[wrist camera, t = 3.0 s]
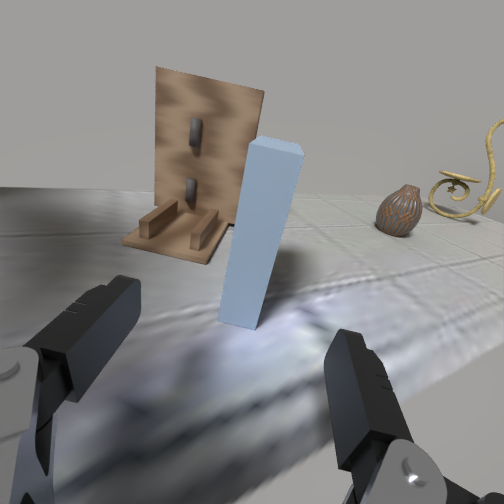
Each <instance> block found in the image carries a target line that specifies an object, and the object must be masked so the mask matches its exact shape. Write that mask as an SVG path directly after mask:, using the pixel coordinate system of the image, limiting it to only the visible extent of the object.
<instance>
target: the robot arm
mask: <svg viewBox="0 0 504 504" xmlns="http://www.w3.org/2000/svg"><path fill="white" fill-rule="evenodd" d="M140 313H141V283H140V280H138V279H135V278H130V277H126V276H122V275H118V276H116V277H115V278H114V279H113V280H112V281H111V282H110V283H109V284H108V285H107V286H106V285H99V286H97V287H95V288H93V289H91V290H89V291H87V292H85V293H84V294H83V295H82V296H81V297H80V298H78V299H77V300H76V301H75V303H73V304H71V305H70V306H69V307H68V308H67V309H66V311H63V312H62V313H61V314H60V315H59V316H57V317H56V318H55V319H54V320H53V321H52V322H50V323H49V324H48V325H47V326H46V327H45V328H44V329H42V330H41V331H40V332H39V333H38V334H37V335H35V336H34V337H33V338H32V339H31V340H30V341H28V342H27V343H26V344H25V345H23V346H22V347H12V348H7V349H3V350H1V351H0V504H55V500H54V491H53V464H54V448H55V431H56V410H57V409H58V408H59V406H60V405H61V404H62V402H63V401H64V400H67V401H71V402H75V403H78V402H79V400H80V399H81V398H82V396H83V395H84V394H85V392H86V391H87V389H88V388H89V387H90V385H91V384H92V383H93V381H94V380H95V379H96V377H97V376H98V375H99V373H100V372H101V370H102V369H103V368H104V366H105V365H106V364H107V362H108V361H109V360H110V358H111V357H112V356H113V354H114V353H115V351H116V350H117V349H118V347H119V346H120V345H121V343H122V342H123V341H124V339H125V338H126V337H127V335H128V334H129V333H130V331H131V330H132V328H133V327H134V326H135V324H136V323H137V321H138V319H139V316H140ZM324 374H325V381H326V388H327V395H328V402H329V409H330V415H331V422H332V429H333V436H334V443H335V449H336V456H337V462H338V469H340V470H345V471H348V472H351V474H352V479H353V484H352V485H351V487H350V489H349V491H348V493H347V495H346V497H345V499H344V501H343V503H342V504H504V495H503V494H500V493H495V492H492V493H489V494H487V495H485V496H484V497H482V498H479V497H477V496H476V495H474V494H472V493H470V492H469V491H467V490H465V489H464V488H462V487H460V486H459V485H457V484H455V483H454V482H452V481H450V480H449V479H447V478H445V477H444V476H443V475H442V473H441V472H440V470H439V468H438V467H437V465H436V464H435V462H434V461H433V460H432V459H431V457H430V456H429V455H428V454H427V453H426V452H425V451H424V450H423V449H421V448H420V447H419V446H417V445H416V444H414V441H413V439H412V437H411V434H410V431H409V429H408V426H407V424H406V421H405V419H404V416H403V414H402V411H401V409H400V406H399V403H398V401H397V398H396V396H395V393H394V392H393V388H392V386H391V383H390V380H388V375H387V373H386V370H385V368H384V365H383V363H382V362H381V360H380V359H379V358H378V357H377V355H376V354H375V353H374V351H373V350H369V349H367V347H366V344H365V342H364V339H363V336H362V334H361V333H357V332H353V331H349V330H345V329H339V330H338V332H337V333H336V335H335V337H334V339H333V341H332V343H331V345H330V347H329V349H328V351H327V353H326V356H325V360H324Z"/></svg>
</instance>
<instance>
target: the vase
mask: <svg viewBox="0 0 504 504" xmlns="http://www.w3.org/2000/svg"><path fill="white" fill-rule="evenodd" d="M421 214H422V203H421V199H420V189H419V188H417V187H415V186H412V185H407V184H406V185H404V186H403V187H402V188H401V189H400V190H398V191H396V192H394V193H393V194H391V195H389V196H388V197H387V198H386V199H385V200H384V201H383V202H382V203H381V205H380V207H379V209H378V211H377V215H376V223H377V226H378V228H379V230H381V231H382V232H384V233H386V234H389V235H392V236H402V235H405V234H407V233H409V232H410V231H411V230H412V229H413V228H414V227H415V226H416V225H417V223H418V222H419V220H420V217H421Z"/></svg>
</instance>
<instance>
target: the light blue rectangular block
mask: <svg viewBox="0 0 504 504" xmlns="http://www.w3.org/2000/svg"><path fill="white" fill-rule="evenodd" d="M303 159H304V154H303V152H302V150H301V148H300V146H299V144H295V143H291V142H287V141H282V140H277V139H273V138H269V137H265V136H260V137H258V138H256V139H255V140H253V141H252V142H250V143H249V147H248V153H247V158H246V164H245V170H244V175H243V181H242V186H241V192H240V198H239V203H238V209H237V215H236V220H235V226H234V231H233V237H232V243H231V248H230V254H229V259H228V265H227V271H226V276H225V282H224V287H223V293H222V299H221V304H220V310H219V315H218V321H219V322H223V323H227V324H231V325H236V326H240V327H244V328H248V329H252V330H255V329H256V325H257V322H258V318H259V315H260V311H261V308H262V304H263V301H264V297H265V294H266V290H267V286H268V283H269V279H270V276H271V272H272V269H273V265H274V262H275V258H276V255H277V251H278V248H279V244H280V241H281V237H282V234H283V230H284V226H285V223H286V219H287V216H288V212H289V209H290V205H291V202H292V198H293V195H294V191H295V188H296V184H297V180H298V177H299V174H300V170H301V166H302V163H303Z"/></svg>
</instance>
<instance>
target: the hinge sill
mask: <svg viewBox="0 0 504 504" xmlns="http://www.w3.org/2000/svg"><path fill="white" fill-rule="evenodd" d="M263 97H264V91H263V90H258V89H254V88H249V87H245V86H241V85H236V84H231V83H227V82H223V81H218V80H213V79H209V78H205V77H201V76H196V75H192V74H187V73H183V72H178V71H174V70H170V69H165V68H161V67H157V66H156V102H155V107H156V108H155V202H154V205H155V206H159V207H158V208H156V209H155V210H153V211H152V212H150V213H149V214H147V215H146V216H144V217H143V218H142V219H140V220H139V227H138V228H137V229H135V230H134V231H133V232H131V233H130V234H128V235H127V236H126V237H124V238H123V239H122V240H121V241H122V245H125V246H129V247H134V248H138V249H142V250H146V251H151V252H155V253H159V254H163V255H167V256H172V257H176V258H180V259H184V260H189V261H193V262H197V263H201V264H207V262H208V260H209V259H210V257H211V255H212V253H213V251H214V250H215V248H216V246H217V244H218V242H219V241H220V239H221V237H222V235H223V233H224V231H225V230H226V228H227V226H228V224H229V223H232V224H235V220H236V215H237V209H238V203H239V198H240V192H241V186H242V181H243V175H244V170H245V164H246V158H247V153H248V147H249V143H250V142H252V141H253V140H255V139H256V134H257V129H258V123H259V118H260V113H261V108H262V103H263Z"/></svg>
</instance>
